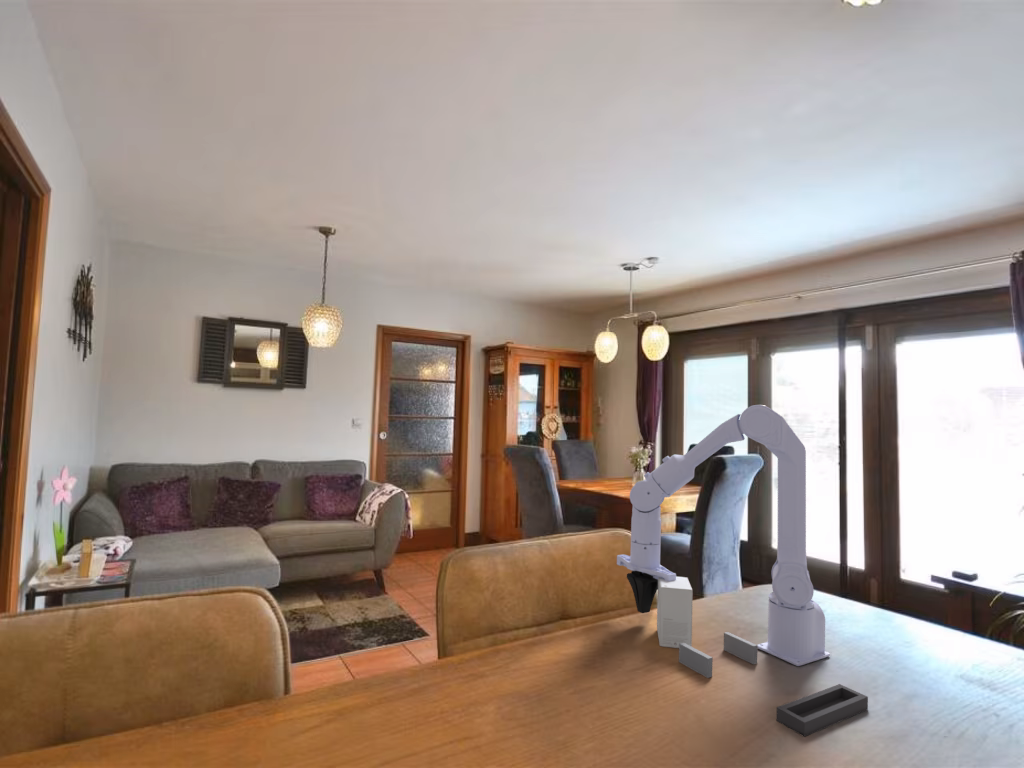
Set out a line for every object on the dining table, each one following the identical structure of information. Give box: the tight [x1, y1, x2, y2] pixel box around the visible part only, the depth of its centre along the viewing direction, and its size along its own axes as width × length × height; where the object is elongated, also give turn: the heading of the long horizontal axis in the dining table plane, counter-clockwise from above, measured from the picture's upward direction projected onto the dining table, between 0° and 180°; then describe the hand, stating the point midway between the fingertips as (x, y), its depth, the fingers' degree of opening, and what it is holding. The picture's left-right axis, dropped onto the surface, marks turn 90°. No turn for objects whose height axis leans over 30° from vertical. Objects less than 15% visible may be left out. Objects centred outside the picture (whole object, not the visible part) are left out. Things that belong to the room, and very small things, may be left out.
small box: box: [656, 575, 694, 649], centre depth 100 cm, size 8×6×10 cm
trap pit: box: [775, 683, 869, 737], centre depth 76 cm, size 15×4×2 cm, turn 120°
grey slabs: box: [678, 631, 758, 679], centre depth 91 cm, size 12×6×3 cm, turn 120°
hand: (643, 611), depth 107 cm, fingers closed
